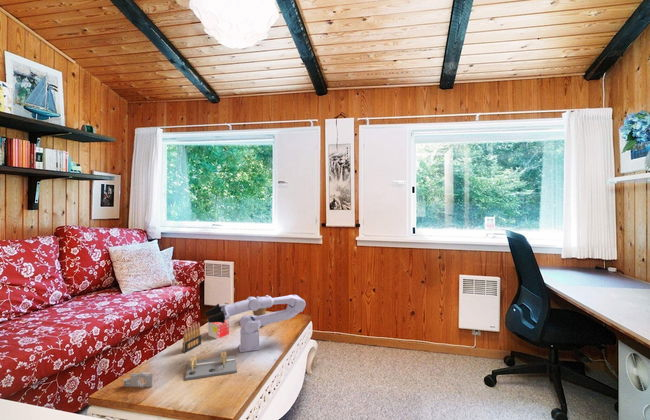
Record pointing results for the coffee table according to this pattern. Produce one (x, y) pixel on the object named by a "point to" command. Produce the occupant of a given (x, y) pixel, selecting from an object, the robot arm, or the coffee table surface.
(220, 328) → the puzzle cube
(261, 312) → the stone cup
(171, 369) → the coffee table surface
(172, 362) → the coffee table surface
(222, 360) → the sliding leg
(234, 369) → the pitch plate
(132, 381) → the garden wall model
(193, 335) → the ammunition clip
